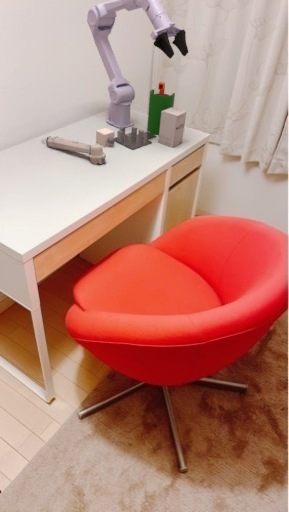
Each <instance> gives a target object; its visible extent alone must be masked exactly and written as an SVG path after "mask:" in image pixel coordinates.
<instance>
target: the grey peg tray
mask: <svg viewBox="0 0 289 512" xmlns="http://www.w3.org/2000/svg"><path fill="white" fill-rule="evenodd" d="M157 137H158V135H156V134H152V133H150V132H148V131H145V130H144V129H138V127H136V126H134V125H132V126H131V132H129V133H126V128H125V127H124V126H122V127H120V128H119V130H117V134H116V137H114V139H115V141H114V143H117V144H118V145H121V146H123V147H125V148H127V149H129V150H132V151H134V150H137V149H139V148H142V147H145V146H148V145H151V144H152V143H153V141H151V140H153V139H156V138H157Z"/></svg>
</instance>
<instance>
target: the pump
mask: <svg viewBox="0 0 289 512" xmlns="http://www.w3.org/2000/svg"><path fill="white" fill-rule="evenodd" d="M114 138H115V131H113V130H112V129H109V128H108V127H104V128H100V129H97V130H95V141H96V145H101V146H102V148H106V147H110V146H113V145H115V139H114Z"/></svg>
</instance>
